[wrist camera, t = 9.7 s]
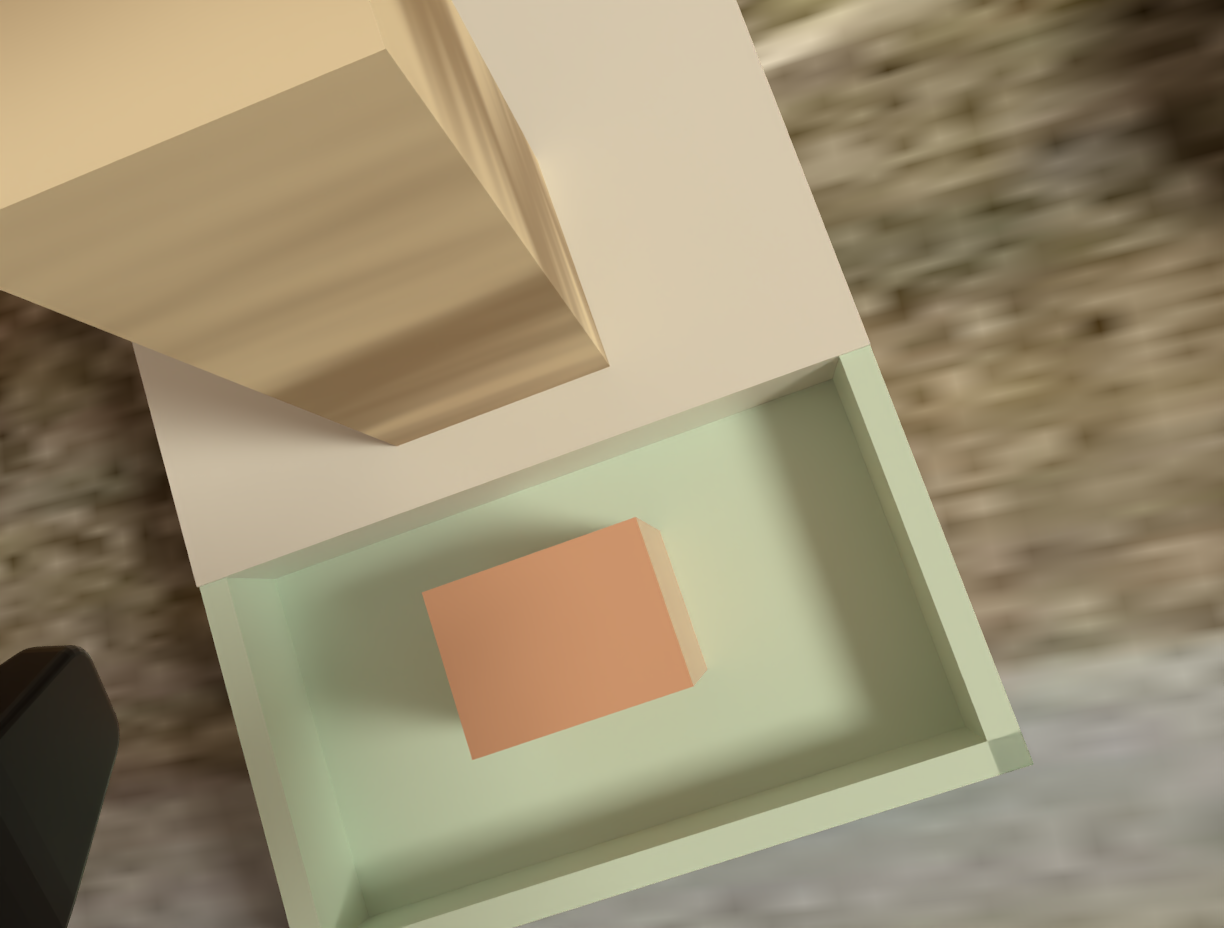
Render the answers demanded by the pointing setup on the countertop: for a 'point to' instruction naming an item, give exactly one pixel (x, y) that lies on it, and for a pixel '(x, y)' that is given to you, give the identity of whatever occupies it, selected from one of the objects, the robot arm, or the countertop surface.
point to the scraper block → (289, 202)
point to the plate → (610, 277)
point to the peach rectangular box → (564, 636)
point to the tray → (643, 734)
